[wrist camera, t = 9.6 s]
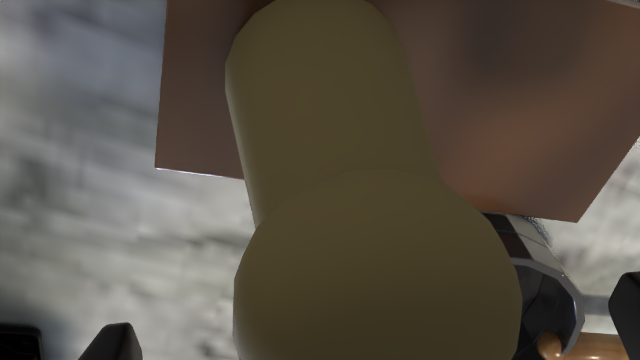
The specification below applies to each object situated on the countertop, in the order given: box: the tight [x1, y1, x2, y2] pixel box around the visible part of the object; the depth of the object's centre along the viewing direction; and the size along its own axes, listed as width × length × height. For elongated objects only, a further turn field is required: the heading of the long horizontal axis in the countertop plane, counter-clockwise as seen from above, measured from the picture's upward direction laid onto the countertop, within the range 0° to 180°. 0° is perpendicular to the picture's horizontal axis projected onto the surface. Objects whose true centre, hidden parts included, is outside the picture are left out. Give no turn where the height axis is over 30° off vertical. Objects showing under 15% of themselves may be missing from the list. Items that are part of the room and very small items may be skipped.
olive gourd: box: [225, 0, 523, 360], centre depth 12 cm, size 6×6×11 cm
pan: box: [478, 210, 585, 360], centre depth 25 cm, size 13×13×4 cm
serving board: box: [155, 0, 640, 223], centre depth 18 cm, size 18×9×2 cm, turn 75°
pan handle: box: [537, 331, 629, 360], centre depth 27 cm, size 9×2×2 cm, turn 75°
